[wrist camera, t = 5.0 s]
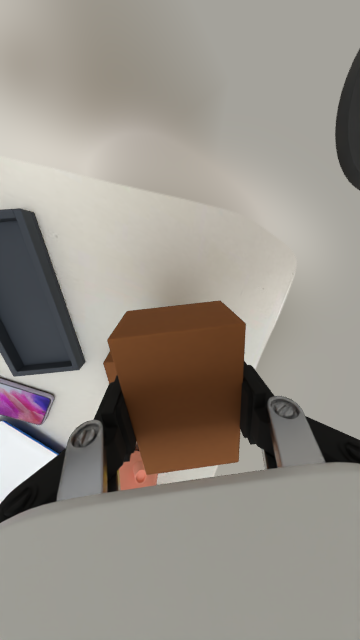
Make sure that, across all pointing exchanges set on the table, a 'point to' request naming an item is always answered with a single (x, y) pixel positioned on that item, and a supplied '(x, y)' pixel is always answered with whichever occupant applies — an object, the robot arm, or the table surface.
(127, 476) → the teapot
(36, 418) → the smartphone
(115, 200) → the table surface
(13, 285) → the frame
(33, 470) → the plate
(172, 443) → the brown rectangular block
